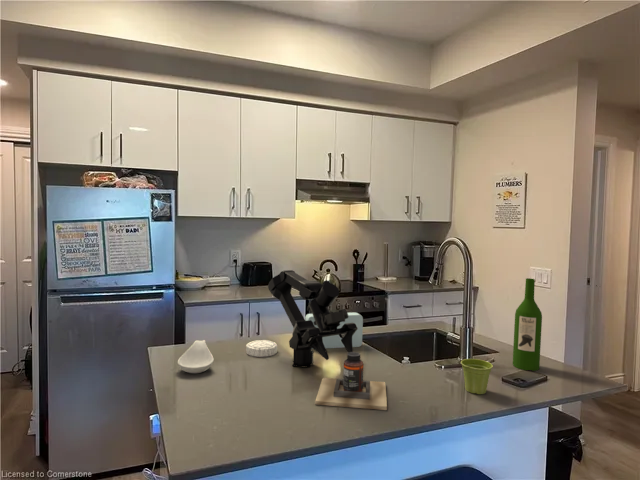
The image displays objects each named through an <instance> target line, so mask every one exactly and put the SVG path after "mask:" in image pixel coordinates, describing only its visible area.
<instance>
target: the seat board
mask: <svg viewBox="0 0 640 480" xmlns="http://www.w3.org/2000/svg"><path fill="white" fill-rule="evenodd" d="M387 400H388V399H387V388H386V382H385V381H375V380H374V381H373V380H365V379H363V390H362V392H353V391H344V390H343V378H331V377H322V379H321V382H320V385H319V387H318V392H317V394H316V398H315V402H314V403H315V405H317V406H318V405H319V406H332V407H342V408H343V407H345V408H356V409H369V410H381V411H387V410H388V405H387V404H388V403H387Z"/></svg>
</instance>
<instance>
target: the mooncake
mask: <svg viewBox="0 0 640 480" xmlns="http://www.w3.org/2000/svg"><path fill="white" fill-rule="evenodd" d="M245 353H246V355H249V356H251V357H256V358H257V357H258V358H259V357H269V356H270V357H271V356H274V355H276V354H277V353H278V344H277V343H276V342H274V341H271V340H270V339H269V340H268V339H262V340H261V339H260V340H259V339H258V340H257V339H256V340H253V341H250V342H248V343H246V345H245Z"/></svg>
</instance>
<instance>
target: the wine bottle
mask: <svg viewBox="0 0 640 480" xmlns="http://www.w3.org/2000/svg"><path fill="white" fill-rule="evenodd" d="M535 282H536V280H535V279H534V278H531V277H530V278H525V288H524V298H523V300H522V302H521V303H520V304H519V305H518V307H517V308H516V309H515V313H514V326H513V327H514V328H513V329H514V330H513V344H512V345H513V348H512V365H513V367H514V368H516V369H519V370H522V371H527V370H532V371H531V372H535V371H539V369H540V365H541V348H542V347H541V346H542V345H541V343H542V329H543V328H542V326H543V325H542V323H543V314H542V311H541V310H540V308H539V306H538V304H537V302H536V301H535Z"/></svg>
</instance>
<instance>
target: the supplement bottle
mask: <svg viewBox="0 0 640 480" xmlns="http://www.w3.org/2000/svg"><path fill="white" fill-rule="evenodd" d="M342 376H343V378H342V379H343V390H344V391H353V392H362V390H363V380H364V361H362V359H361V353H360V352H358V351H353V352H349V353H348V352H347V354H346V359H345V360H344V361H343V375H342Z"/></svg>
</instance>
